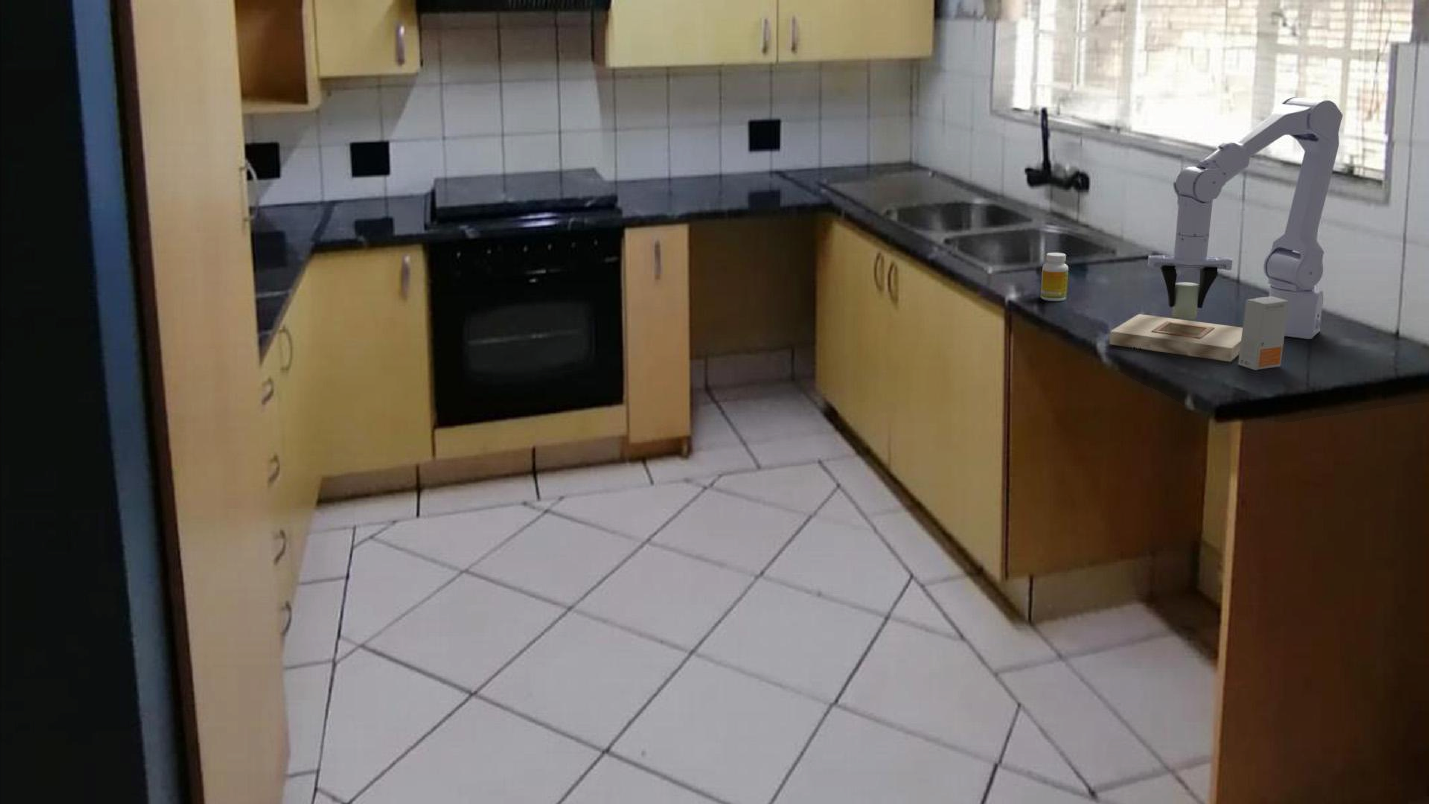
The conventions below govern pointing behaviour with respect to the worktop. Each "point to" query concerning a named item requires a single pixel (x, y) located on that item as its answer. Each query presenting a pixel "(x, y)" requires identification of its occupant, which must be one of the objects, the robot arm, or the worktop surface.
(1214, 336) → the hole plate
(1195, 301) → the green peg
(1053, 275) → the supplement bottle
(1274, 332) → the skincare box
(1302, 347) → the worktop surface
